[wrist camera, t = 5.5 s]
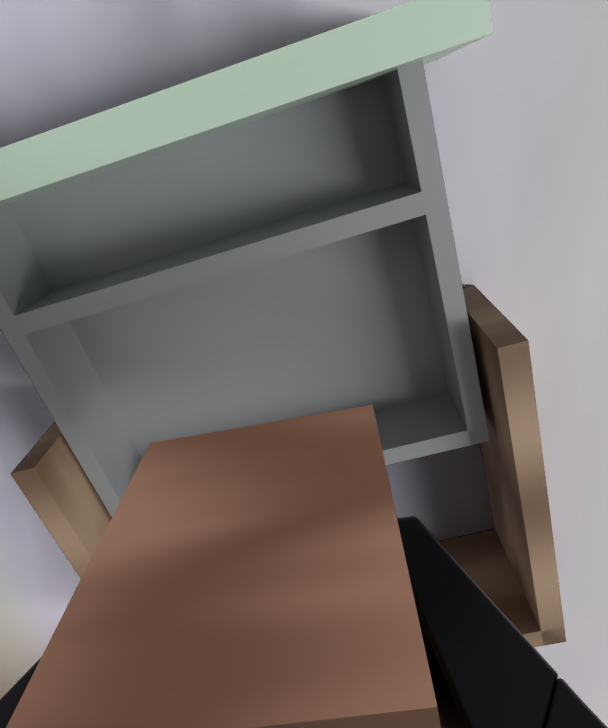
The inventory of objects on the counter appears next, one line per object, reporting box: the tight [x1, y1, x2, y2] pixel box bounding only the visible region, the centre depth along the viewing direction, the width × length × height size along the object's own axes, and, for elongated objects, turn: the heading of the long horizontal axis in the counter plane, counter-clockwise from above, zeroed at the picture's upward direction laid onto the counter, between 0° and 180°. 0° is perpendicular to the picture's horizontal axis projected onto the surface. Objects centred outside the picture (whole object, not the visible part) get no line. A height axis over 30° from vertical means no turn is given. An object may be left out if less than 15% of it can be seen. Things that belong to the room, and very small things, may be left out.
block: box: [6, 405, 441, 728], centre depth 8 cm, size 4×4×5 cm
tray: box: [0, 0, 493, 517], centre depth 16 cm, size 12×15×5 cm
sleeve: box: [11, 285, 566, 647], centre depth 19 cm, size 12×15×5 cm
